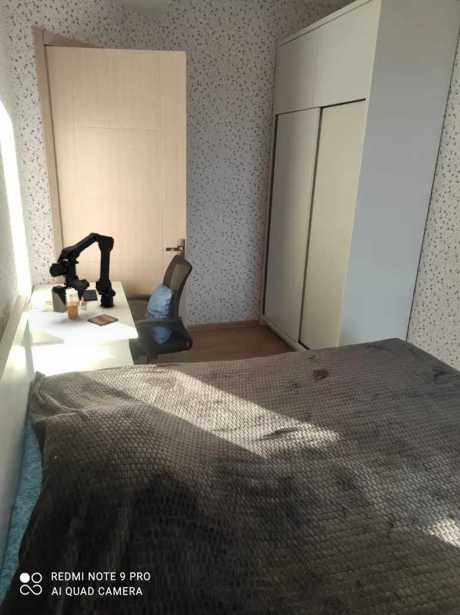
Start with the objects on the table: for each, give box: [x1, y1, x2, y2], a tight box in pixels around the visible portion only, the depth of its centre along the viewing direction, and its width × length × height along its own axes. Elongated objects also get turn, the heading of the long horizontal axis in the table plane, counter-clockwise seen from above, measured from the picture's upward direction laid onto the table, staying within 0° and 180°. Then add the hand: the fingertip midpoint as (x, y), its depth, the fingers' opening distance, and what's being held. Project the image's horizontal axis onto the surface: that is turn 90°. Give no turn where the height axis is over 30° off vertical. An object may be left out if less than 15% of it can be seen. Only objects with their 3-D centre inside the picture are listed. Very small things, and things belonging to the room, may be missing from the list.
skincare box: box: [51, 288, 68, 313], centre depth 245 cm, size 6×4×12 cm
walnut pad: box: [86, 313, 119, 327], centre depth 235 cm, size 11×11×1 cm
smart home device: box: [82, 288, 99, 302], centre depth 274 cm, size 8×2×20 cm
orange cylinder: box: [67, 304, 79, 320], centre depth 237 cm, size 5×5×6 cm
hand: (72, 302), depth 236 cm, fingers open, 9 cm apart
